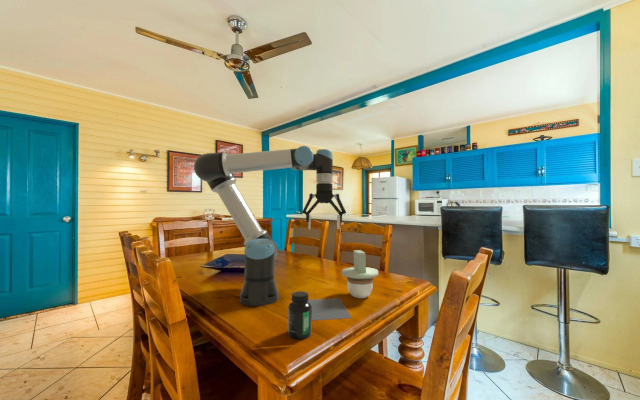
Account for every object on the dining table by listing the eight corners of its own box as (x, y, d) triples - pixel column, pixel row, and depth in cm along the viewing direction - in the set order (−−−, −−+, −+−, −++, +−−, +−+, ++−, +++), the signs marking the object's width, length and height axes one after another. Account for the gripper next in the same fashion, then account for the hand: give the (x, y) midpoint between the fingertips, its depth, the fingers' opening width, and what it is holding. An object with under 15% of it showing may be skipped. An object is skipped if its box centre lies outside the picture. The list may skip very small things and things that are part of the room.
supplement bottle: (312, 340, 72) (312, 297, 73) (287, 341, 72) (287, 298, 72) (310, 329, 79) (311, 289, 79) (288, 329, 79) (288, 290, 79)
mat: (298, 322, 83) (298, 321, 83) (295, 301, 101) (295, 300, 101) (351, 319, 86) (352, 317, 86) (339, 299, 104) (339, 298, 104)
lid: (346, 279, 99) (346, 255, 99) (338, 270, 114) (337, 249, 114) (384, 277, 101) (383, 253, 101) (371, 268, 116) (370, 248, 116)
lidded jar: (373, 302, 101) (373, 278, 101) (345, 300, 103) (345, 276, 103) (373, 293, 111) (373, 271, 111) (348, 291, 114) (348, 269, 114)
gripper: (297, 182, 114) (297, 230, 114) (352, 183, 118) (352, 229, 117) (297, 183, 122) (296, 228, 121) (348, 184, 125) (348, 228, 125)
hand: (324, 229), depth 119 cm, fingers open, 13 cm apart
